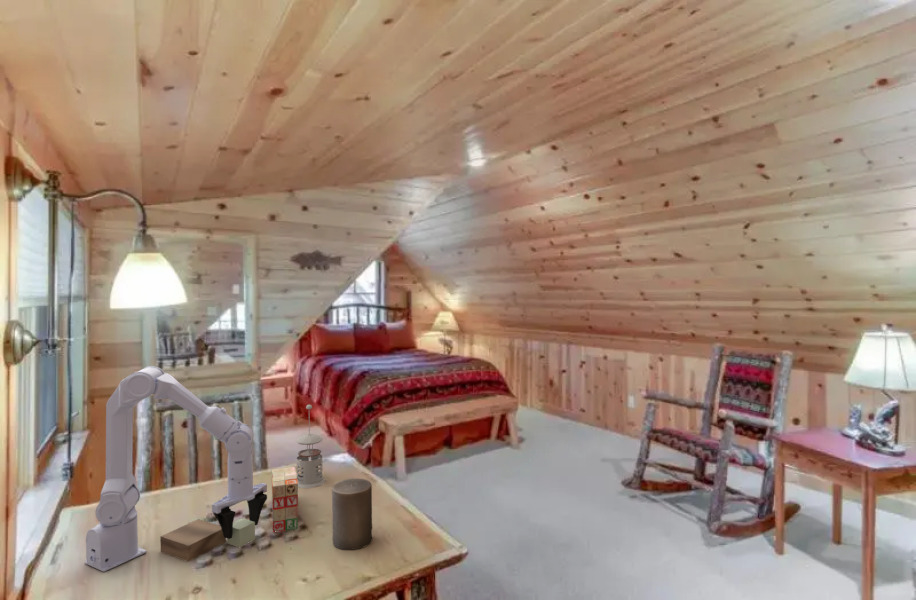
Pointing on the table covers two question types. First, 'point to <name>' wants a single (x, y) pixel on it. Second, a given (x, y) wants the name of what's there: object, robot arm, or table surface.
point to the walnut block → (192, 540)
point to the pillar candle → (352, 513)
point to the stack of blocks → (284, 499)
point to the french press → (309, 468)
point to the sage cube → (242, 532)
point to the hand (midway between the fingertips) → (241, 530)
